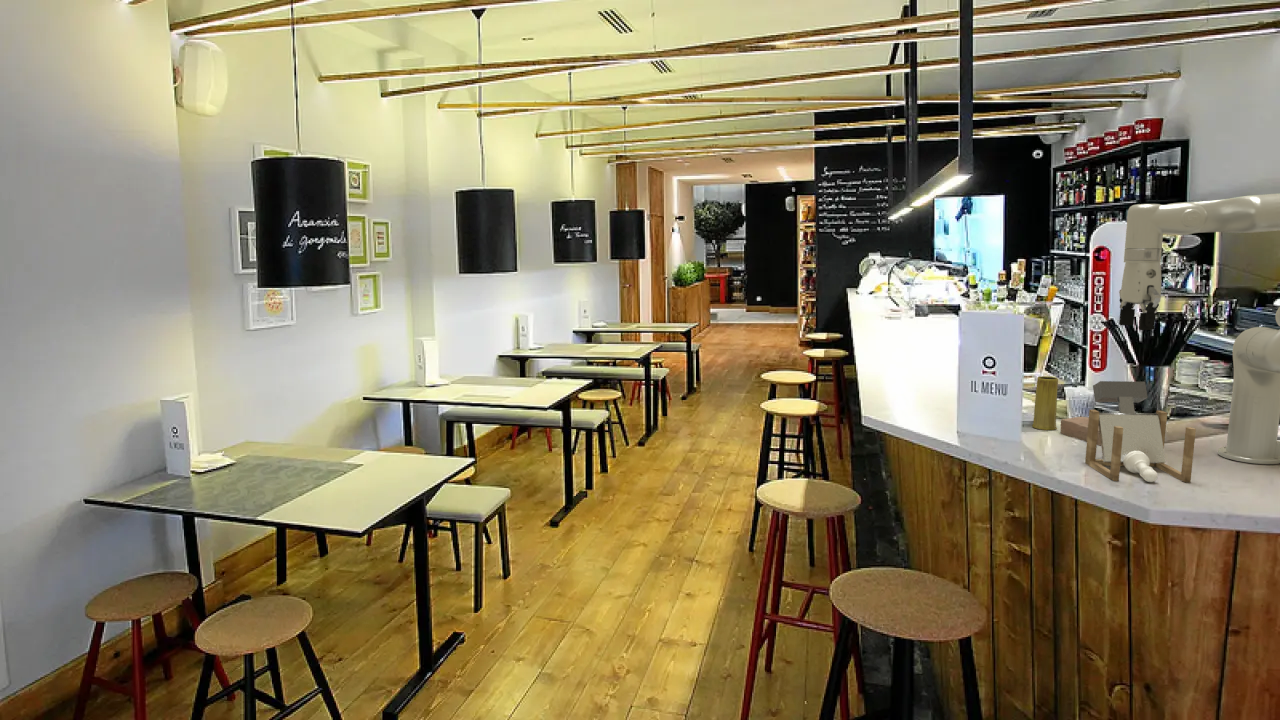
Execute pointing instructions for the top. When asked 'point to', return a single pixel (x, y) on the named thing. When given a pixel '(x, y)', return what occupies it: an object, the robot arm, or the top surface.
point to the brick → (1077, 428)
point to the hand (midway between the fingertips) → (1136, 327)
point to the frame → (1117, 447)
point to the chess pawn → (1140, 465)
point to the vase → (1045, 403)
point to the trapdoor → (1128, 421)
